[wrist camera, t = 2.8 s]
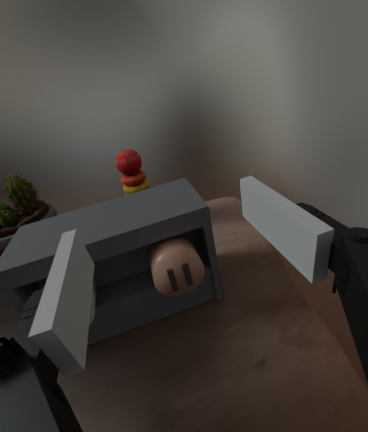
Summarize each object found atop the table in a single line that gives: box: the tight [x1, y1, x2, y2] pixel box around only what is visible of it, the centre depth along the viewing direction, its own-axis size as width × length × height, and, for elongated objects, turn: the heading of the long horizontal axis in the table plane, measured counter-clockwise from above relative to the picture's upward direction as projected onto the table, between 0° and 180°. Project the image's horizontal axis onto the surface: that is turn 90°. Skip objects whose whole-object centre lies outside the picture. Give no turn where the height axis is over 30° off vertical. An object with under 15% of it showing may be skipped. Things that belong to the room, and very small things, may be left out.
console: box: [0, 178, 223, 346], centre depth 34 cm, size 10×24×16 cm, turn 105°
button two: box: [149, 236, 205, 296], centre depth 29 cm, size 4×6×6 cm
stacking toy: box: [116, 149, 150, 195], centre depth 52 cm, size 8×8×19 cm
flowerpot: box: [0, 175, 57, 257], centre depth 49 cm, size 14×15×20 cm
